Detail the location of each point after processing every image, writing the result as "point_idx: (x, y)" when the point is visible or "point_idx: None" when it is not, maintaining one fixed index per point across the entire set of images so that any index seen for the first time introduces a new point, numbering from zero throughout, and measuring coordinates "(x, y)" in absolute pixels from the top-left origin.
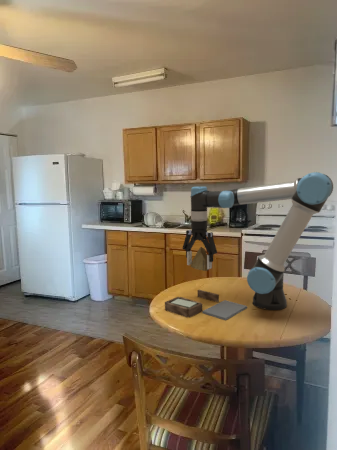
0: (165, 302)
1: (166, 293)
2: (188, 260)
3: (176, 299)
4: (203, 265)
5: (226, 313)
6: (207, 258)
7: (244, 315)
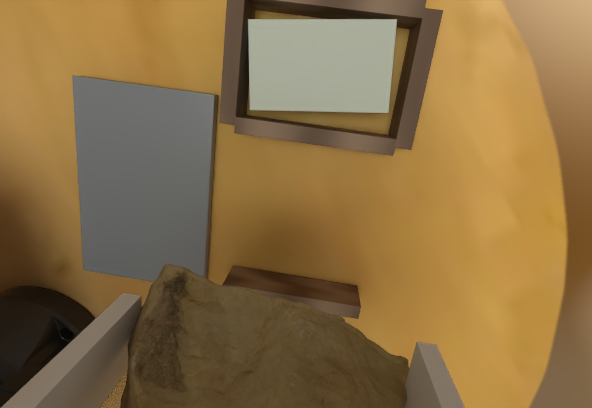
0: (436, 10)
1: (546, 252)
2: (434, 391)
3: (401, 112)
4: (168, 315)
5: (103, 134)
6: (38, 395)
7: (53, 181)
